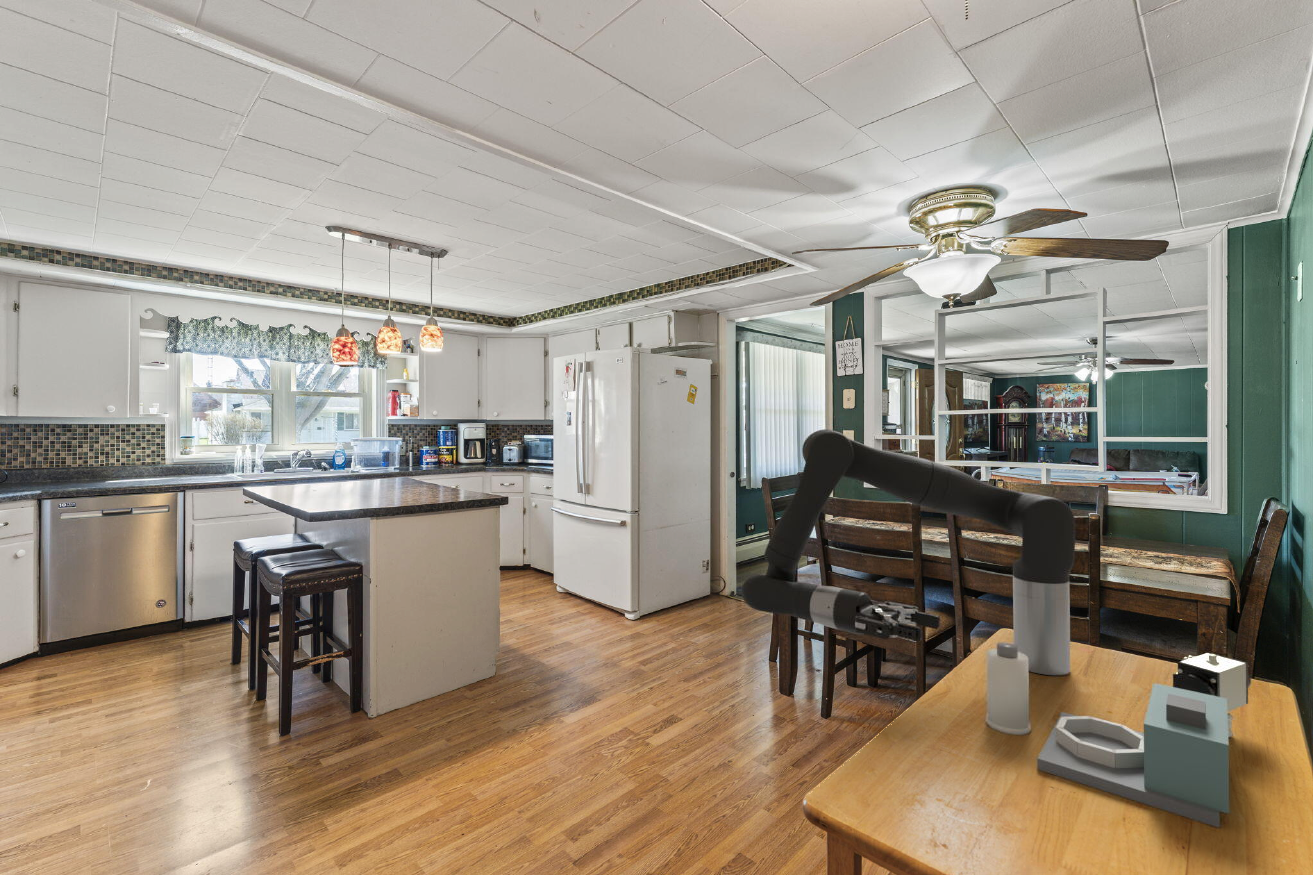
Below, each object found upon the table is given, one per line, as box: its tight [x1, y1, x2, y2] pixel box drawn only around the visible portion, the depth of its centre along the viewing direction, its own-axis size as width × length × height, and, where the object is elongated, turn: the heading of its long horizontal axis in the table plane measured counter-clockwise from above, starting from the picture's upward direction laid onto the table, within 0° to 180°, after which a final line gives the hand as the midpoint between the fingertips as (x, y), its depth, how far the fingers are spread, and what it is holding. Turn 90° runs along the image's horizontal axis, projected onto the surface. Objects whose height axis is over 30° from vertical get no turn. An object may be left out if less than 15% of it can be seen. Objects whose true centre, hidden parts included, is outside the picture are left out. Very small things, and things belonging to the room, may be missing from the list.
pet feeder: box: [1036, 682, 1230, 829], centre depth 81 cm, size 19×19×12 cm
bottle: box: [985, 641, 1032, 736], centre depth 93 cm, size 6×6×12 cm
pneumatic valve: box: [1172, 652, 1252, 739], centre depth 90 cm, size 6×12×12 cm, turn 115°
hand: (930, 628), depth 101 cm, fingers open, 8 cm apart
